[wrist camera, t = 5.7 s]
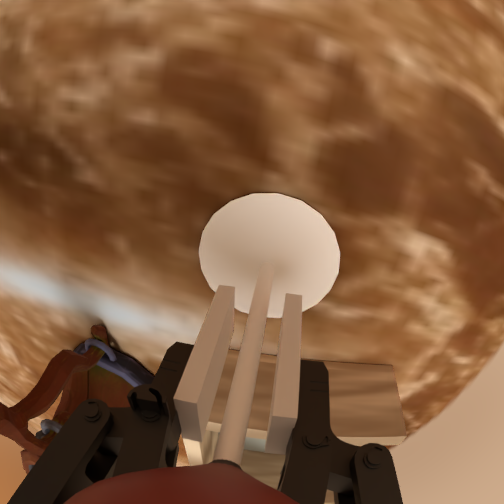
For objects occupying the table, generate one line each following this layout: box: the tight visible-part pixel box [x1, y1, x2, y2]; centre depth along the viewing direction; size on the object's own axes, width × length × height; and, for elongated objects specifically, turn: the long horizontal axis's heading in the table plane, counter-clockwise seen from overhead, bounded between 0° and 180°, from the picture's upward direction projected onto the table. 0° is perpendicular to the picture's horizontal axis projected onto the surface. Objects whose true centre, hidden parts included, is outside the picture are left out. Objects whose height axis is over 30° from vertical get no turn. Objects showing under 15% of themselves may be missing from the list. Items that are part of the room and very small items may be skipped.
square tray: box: [183, 349, 407, 504], centre depth 24 cm, size 16×15×7 cm
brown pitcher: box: [0, 325, 154, 474], centre depth 21 cm, size 18×12×15 cm, turn 173°
